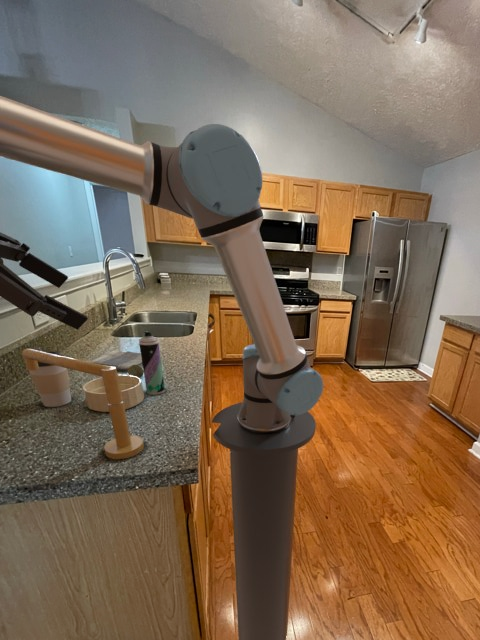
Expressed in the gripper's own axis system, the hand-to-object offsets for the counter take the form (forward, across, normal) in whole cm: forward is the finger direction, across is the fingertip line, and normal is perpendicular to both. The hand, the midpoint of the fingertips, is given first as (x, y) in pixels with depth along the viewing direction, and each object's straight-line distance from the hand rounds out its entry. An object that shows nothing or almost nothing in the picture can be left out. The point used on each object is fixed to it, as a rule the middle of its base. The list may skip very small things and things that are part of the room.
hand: (72, 301), depth 57 cm
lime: (+48, -29, -25) cm, 61 cm away
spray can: (+44, -14, -19) cm, 50 cm away
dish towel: (+54, -47, -31) cm, 78 cm away
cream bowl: (+34, -13, -27) cm, 45 cm away
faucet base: (+23, +13, -21) cm, 34 cm away
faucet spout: (+14, -2, -20) cm, 25 cm away
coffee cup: (+27, -22, -39) cm, 52 cm away
